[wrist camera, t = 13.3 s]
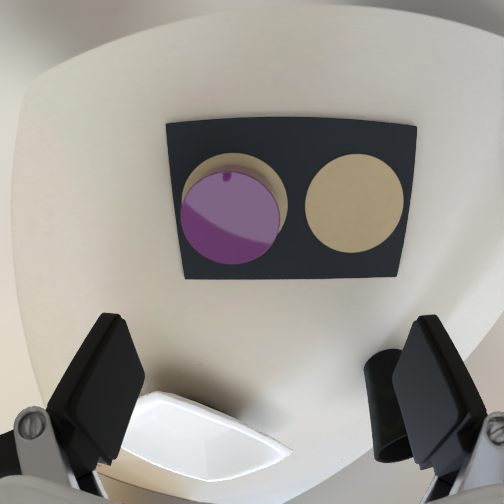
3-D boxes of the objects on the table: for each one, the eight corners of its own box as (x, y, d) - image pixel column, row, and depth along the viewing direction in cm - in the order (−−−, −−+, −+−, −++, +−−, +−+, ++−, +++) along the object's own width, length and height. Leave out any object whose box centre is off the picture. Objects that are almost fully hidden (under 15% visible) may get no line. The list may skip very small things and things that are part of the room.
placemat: (167, 123, 22) (165, 124, 22) (415, 126, 21) (417, 126, 21) (185, 277, 29) (184, 279, 28) (395, 274, 27) (397, 277, 27)
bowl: (104, 408, 42) (93, 435, 37) (166, 343, 33) (152, 381, 28) (214, 460, 48) (210, 485, 42) (306, 416, 39) (308, 450, 34)
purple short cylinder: (185, 165, 23) (175, 174, 21) (278, 161, 23) (279, 170, 20) (194, 247, 26) (186, 264, 24) (278, 246, 26) (279, 264, 23)
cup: (408, 332, 31) (445, 417, 20) (417, 368, 34) (445, 443, 23) (347, 359, 33) (367, 449, 22) (364, 391, 36) (381, 468, 25)
